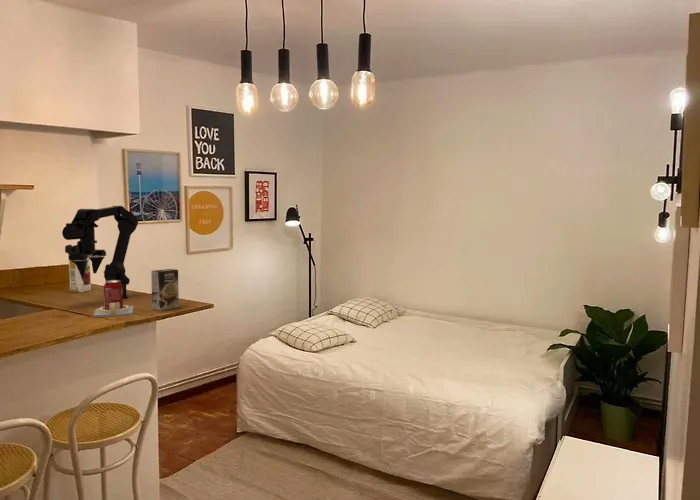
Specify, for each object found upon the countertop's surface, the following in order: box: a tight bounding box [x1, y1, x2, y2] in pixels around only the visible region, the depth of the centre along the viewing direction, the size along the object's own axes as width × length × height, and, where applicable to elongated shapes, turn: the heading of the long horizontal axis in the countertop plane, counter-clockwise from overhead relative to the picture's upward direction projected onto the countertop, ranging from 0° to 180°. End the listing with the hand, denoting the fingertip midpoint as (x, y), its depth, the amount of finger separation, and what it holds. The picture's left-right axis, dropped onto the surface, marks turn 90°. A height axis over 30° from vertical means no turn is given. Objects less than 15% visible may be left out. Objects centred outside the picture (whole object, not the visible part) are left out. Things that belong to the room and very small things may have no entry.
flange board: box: [92, 303, 134, 319], centre depth 211 cm, size 14×14×5 cm
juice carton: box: [68, 258, 92, 293], centre depth 258 cm, size 8×9×19 cm
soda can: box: [103, 280, 124, 310], centre depth 211 cm, size 7×7×12 cm
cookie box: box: [150, 268, 180, 311], centre depth 220 cm, size 9×6×16 cm
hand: (88, 274), depth 225 cm, fingers open, 9 cm apart
